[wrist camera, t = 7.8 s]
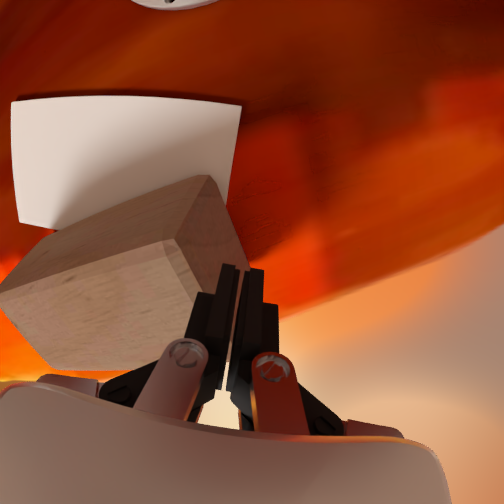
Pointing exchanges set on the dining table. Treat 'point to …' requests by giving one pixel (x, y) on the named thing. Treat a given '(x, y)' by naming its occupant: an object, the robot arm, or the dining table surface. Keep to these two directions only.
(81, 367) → the wooden block
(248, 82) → the dining table surface
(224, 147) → the white mat
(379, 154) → the dining table surface
